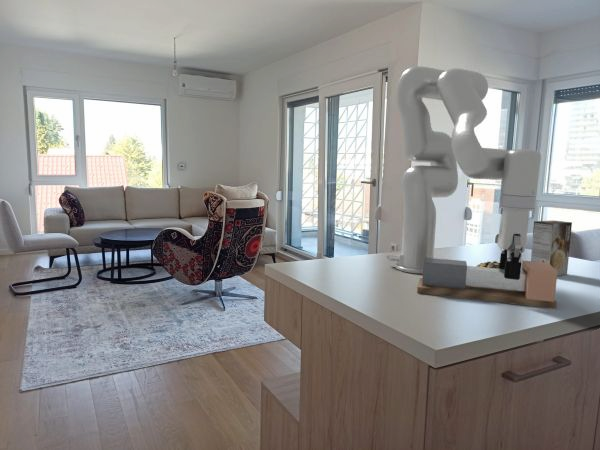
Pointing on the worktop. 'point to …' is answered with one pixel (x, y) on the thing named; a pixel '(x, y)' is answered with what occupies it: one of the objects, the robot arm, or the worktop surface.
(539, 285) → the socket block
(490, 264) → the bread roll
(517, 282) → the light grey bar
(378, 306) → the worktop surface
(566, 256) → the coffee box
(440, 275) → the sleeve
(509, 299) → the base board
